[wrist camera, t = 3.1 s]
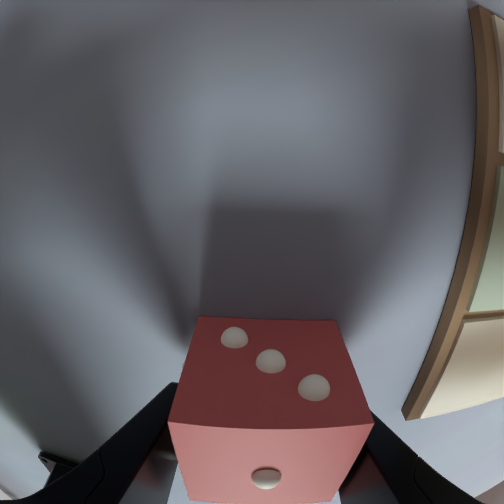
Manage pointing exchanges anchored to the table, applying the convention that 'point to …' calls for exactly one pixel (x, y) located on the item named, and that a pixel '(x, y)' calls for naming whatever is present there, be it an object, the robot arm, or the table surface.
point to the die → (267, 412)
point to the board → (474, 258)
